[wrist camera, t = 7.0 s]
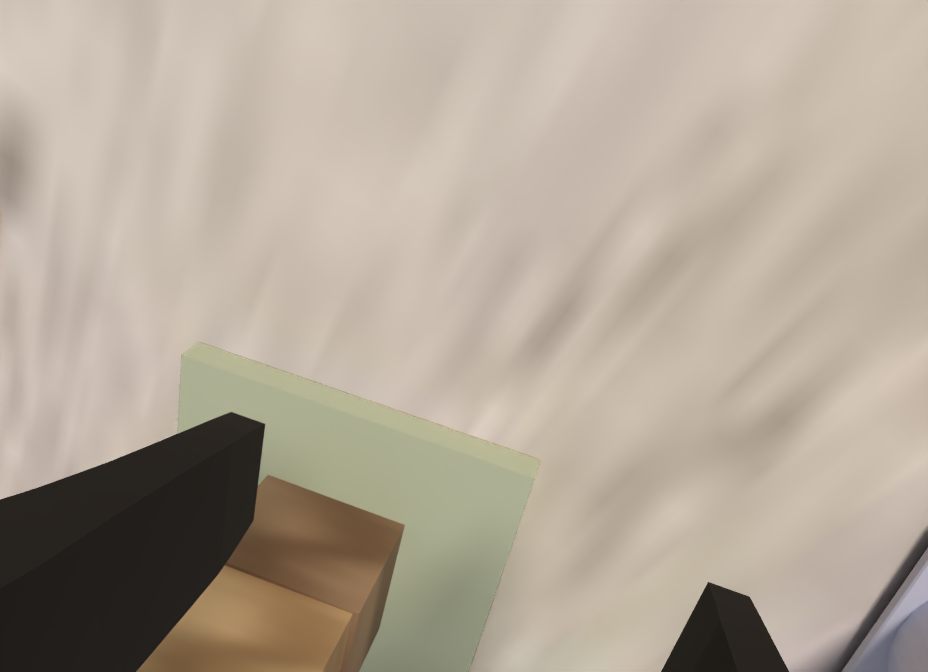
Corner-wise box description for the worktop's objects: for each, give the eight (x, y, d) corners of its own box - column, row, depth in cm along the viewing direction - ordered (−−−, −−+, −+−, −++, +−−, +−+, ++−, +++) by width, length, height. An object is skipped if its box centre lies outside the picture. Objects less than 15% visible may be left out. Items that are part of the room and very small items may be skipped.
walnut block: (405, 524, 24) (359, 613, 20) (379, 628, 26) (333, 725, 22) (267, 474, 24) (199, 552, 21) (254, 580, 26) (190, 666, 23)
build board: (540, 460, 22) (535, 478, 22) (457, 703, 28) (449, 725, 27) (199, 342, 24) (181, 354, 23) (182, 594, 29) (167, 612, 28)
